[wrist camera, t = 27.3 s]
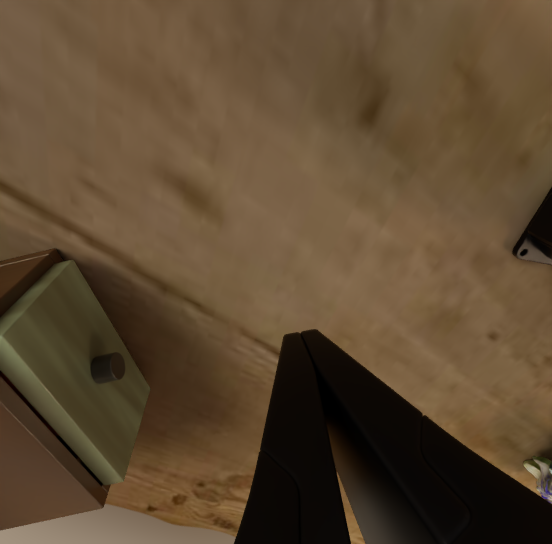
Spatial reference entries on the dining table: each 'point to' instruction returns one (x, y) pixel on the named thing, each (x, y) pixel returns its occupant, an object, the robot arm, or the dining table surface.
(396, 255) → the dining table surface
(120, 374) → the drawer
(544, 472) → the passion flower
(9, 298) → the cabinet
